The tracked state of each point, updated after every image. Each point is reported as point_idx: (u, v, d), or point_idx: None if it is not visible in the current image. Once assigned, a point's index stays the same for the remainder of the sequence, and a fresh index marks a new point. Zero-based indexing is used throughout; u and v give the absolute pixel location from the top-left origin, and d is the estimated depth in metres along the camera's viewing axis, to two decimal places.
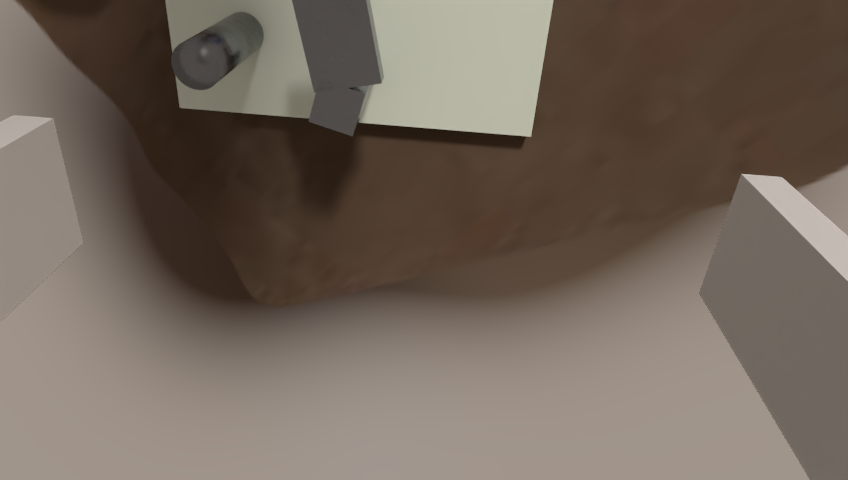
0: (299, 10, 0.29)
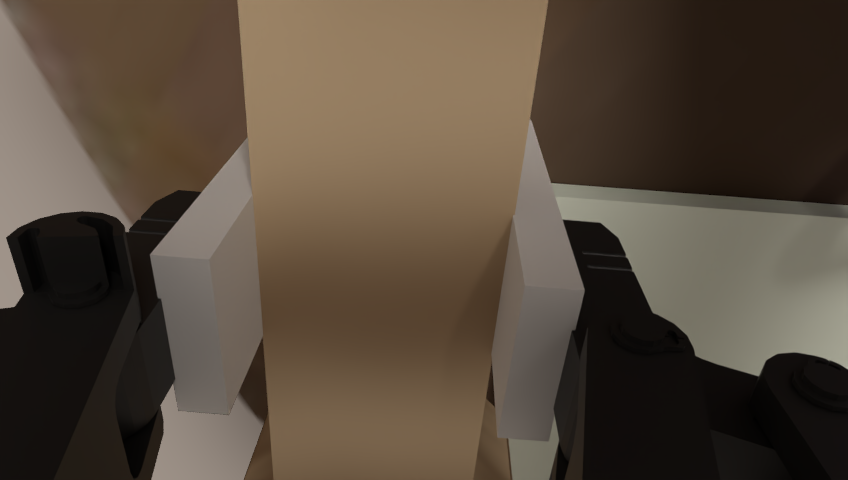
0: None
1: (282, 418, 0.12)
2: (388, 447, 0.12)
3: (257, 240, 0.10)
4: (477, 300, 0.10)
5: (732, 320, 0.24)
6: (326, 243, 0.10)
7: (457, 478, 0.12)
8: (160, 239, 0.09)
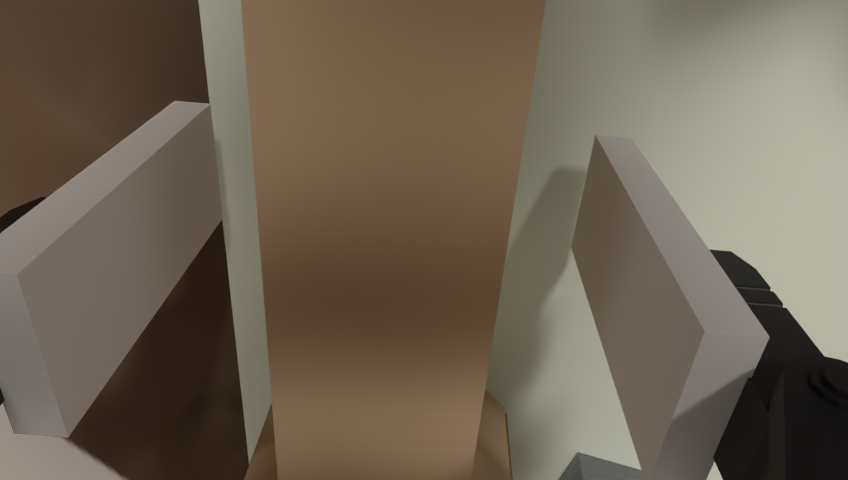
0: None
1: (285, 409, 0.12)
2: (389, 437, 0.12)
3: (260, 235, 0.10)
4: (476, 294, 0.10)
5: (576, 117, 0.14)
6: (328, 239, 0.10)
7: (456, 467, 0.12)
8: None
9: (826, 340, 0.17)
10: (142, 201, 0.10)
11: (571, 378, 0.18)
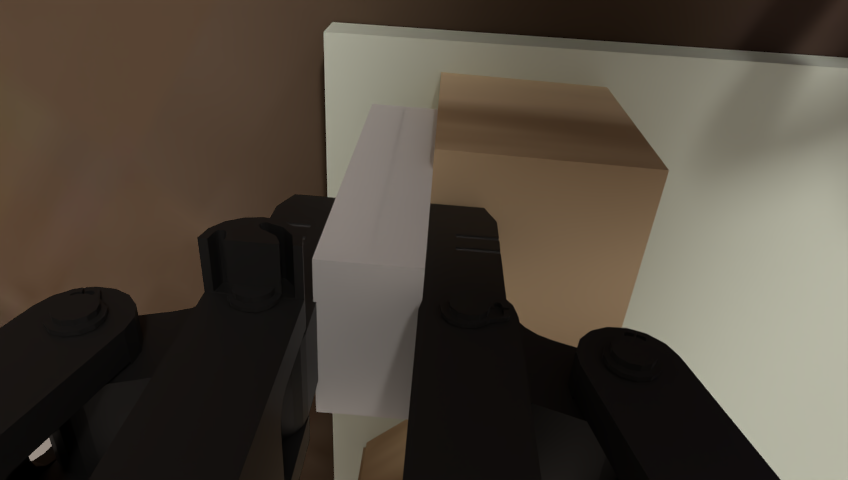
0: None
1: None
2: None
3: None
4: None
5: None
6: None
7: None
8: None
9: (842, 405, 0.19)
10: None
11: None
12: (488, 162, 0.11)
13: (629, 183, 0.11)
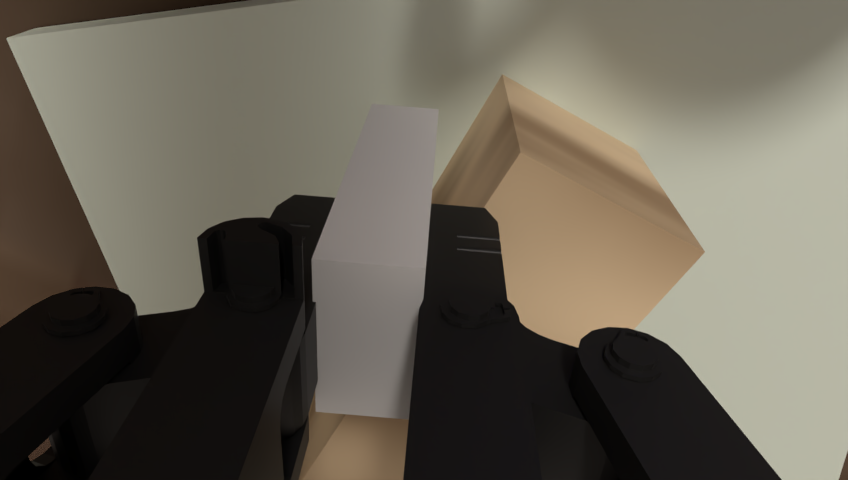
0: None
1: (332, 453, 0.14)
2: None
3: None
4: None
5: None
6: None
7: None
8: None
9: (663, 326, 0.18)
10: None
11: None
12: (561, 184, 0.11)
13: (668, 250, 0.11)
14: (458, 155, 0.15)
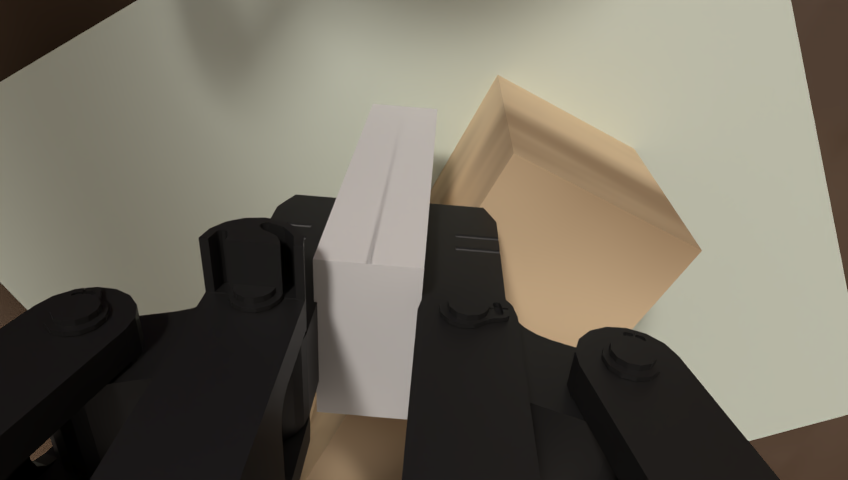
0: None
1: (332, 456, 0.14)
2: None
3: None
4: None
5: (226, 180, 0.17)
6: None
7: None
8: None
9: None
10: None
11: None
12: (555, 184, 0.11)
13: (664, 249, 0.11)
14: (455, 156, 0.15)
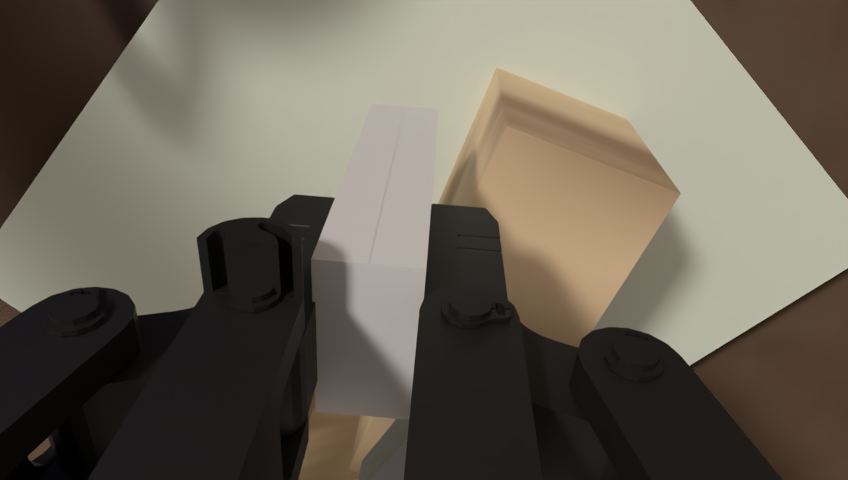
0: None
1: None
2: None
3: None
4: None
5: (211, 213, 0.20)
6: None
7: None
8: None
9: None
10: None
11: None
12: (545, 149, 0.13)
13: (647, 196, 0.13)
14: (466, 143, 0.17)
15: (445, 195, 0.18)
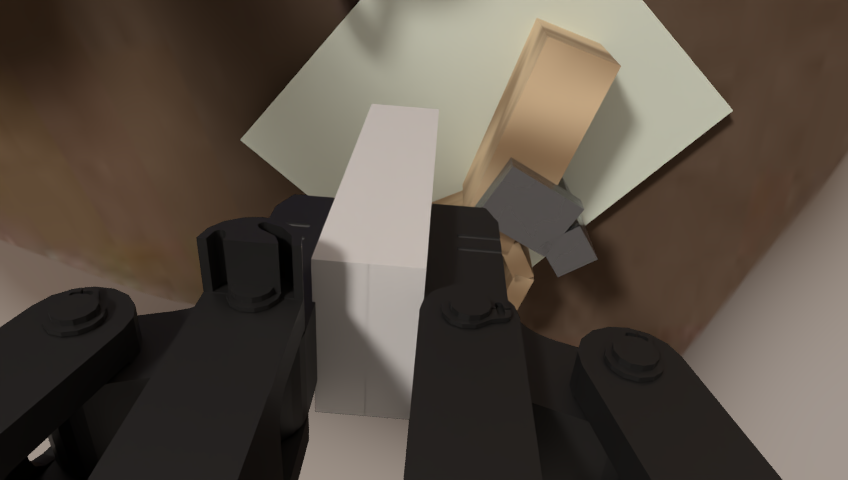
0: None
1: (484, 186, 0.34)
2: None
3: (508, 123, 0.32)
4: (563, 159, 0.33)
5: (383, 99, 0.37)
6: (528, 129, 0.33)
7: None
8: None
9: None
10: None
11: None
12: (564, 46, 0.30)
13: (607, 67, 0.31)
14: (521, 56, 0.35)
15: (510, 83, 0.36)
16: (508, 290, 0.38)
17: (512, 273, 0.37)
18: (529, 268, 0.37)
